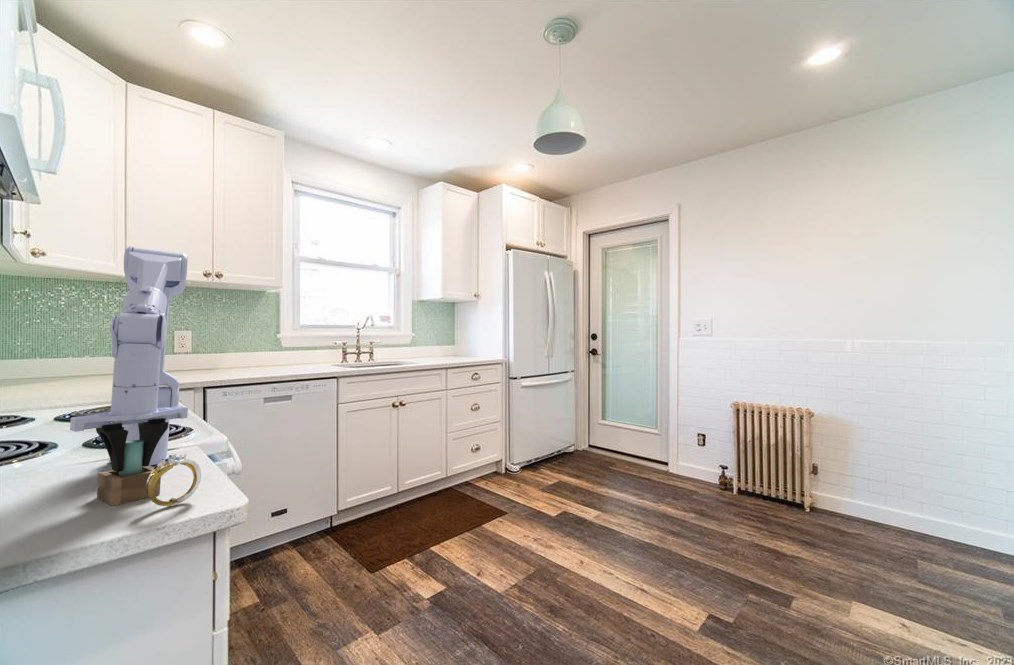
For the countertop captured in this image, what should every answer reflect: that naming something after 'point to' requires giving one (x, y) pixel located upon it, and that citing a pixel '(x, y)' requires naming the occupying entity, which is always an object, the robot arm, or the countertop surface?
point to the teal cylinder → (132, 458)
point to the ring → (158, 472)
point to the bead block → (124, 486)
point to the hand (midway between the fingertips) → (130, 467)
